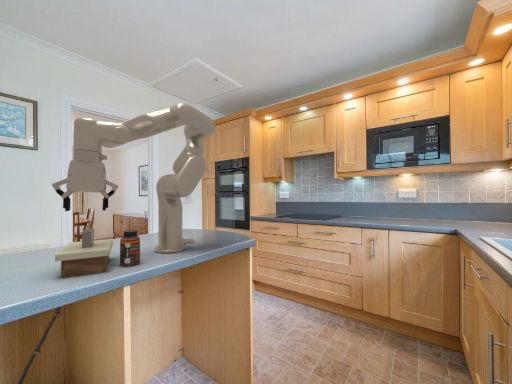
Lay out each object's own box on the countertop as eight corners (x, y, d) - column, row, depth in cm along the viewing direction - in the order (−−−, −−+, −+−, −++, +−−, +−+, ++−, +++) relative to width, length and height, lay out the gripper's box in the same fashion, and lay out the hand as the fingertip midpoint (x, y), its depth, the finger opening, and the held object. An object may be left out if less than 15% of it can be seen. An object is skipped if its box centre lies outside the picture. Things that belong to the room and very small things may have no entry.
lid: (69, 247, 80) (69, 228, 80) (112, 243, 86) (112, 225, 86) (54, 261, 65) (54, 237, 65) (109, 255, 71) (109, 233, 71)
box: (72, 262, 80) (72, 245, 80) (109, 258, 85) (109, 242, 85) (60, 277, 66) (60, 256, 66) (105, 271, 71) (105, 251, 71)
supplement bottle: (131, 267, 75) (131, 232, 75) (115, 266, 76) (115, 231, 76) (143, 261, 81) (143, 229, 81) (128, 260, 82) (129, 228, 82)
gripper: (119, 161, 83) (118, 209, 83) (56, 156, 74) (55, 210, 74) (118, 158, 76) (117, 210, 76) (49, 153, 68) (48, 212, 68)
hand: (86, 210), depth 75 cm, fingers open, 9 cm apart
